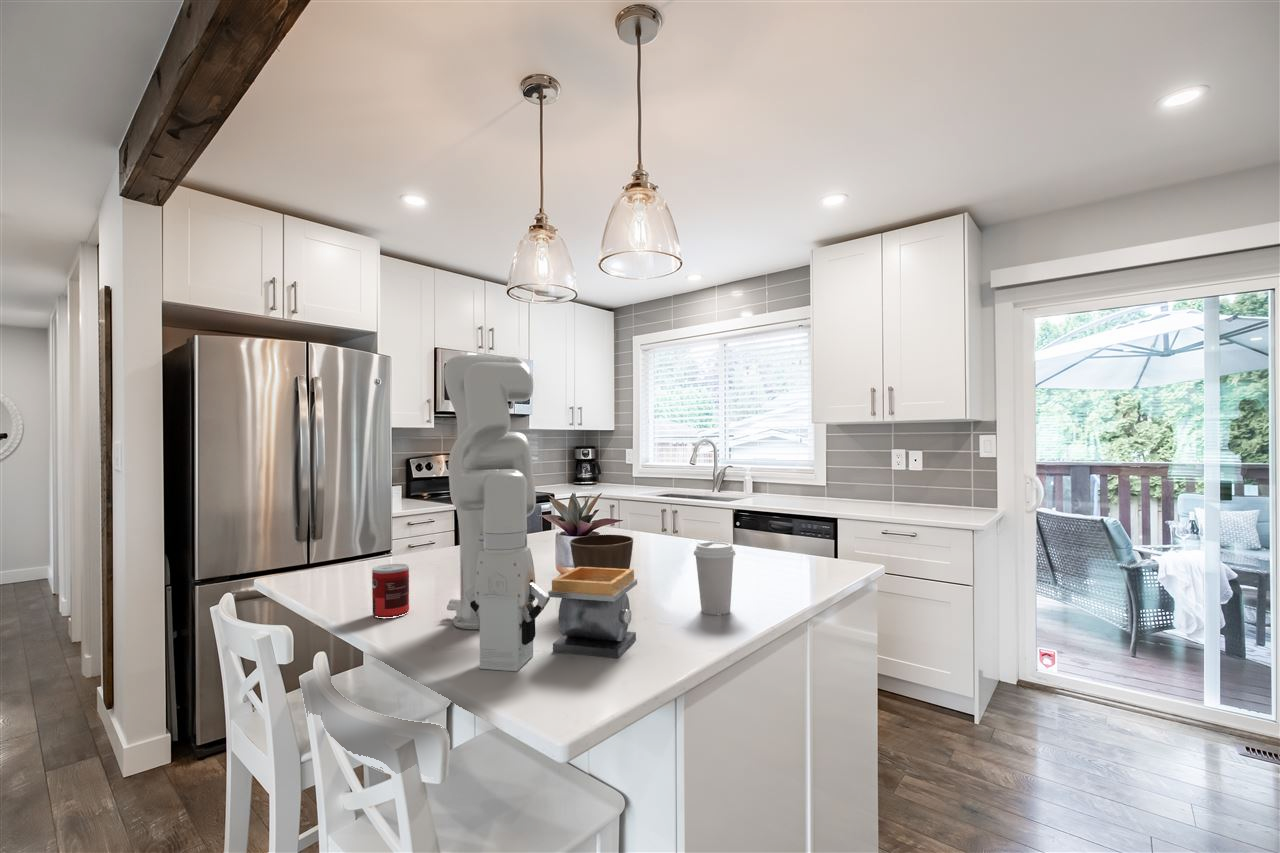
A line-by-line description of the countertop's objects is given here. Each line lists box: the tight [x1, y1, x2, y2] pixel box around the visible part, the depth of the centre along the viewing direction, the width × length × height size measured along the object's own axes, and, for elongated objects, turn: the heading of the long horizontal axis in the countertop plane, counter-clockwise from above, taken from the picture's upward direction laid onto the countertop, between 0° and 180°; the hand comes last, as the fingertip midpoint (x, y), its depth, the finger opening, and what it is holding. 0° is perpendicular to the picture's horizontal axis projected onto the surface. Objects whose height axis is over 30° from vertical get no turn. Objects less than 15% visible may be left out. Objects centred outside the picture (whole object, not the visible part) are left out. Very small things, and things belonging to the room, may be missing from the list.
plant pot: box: [569, 534, 634, 569], centre depth 136 cm, size 15×15×16 cm
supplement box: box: [479, 595, 534, 672], centre depth 103 cm, size 7×7×13 cm
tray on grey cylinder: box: [547, 567, 638, 659], centre depth 111 cm, size 14×13×14 cm
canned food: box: [371, 563, 410, 617], centre depth 134 cm, size 8×8×11 cm
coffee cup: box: [693, 541, 736, 616], centre depth 132 cm, size 10×10×15 cm
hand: (507, 639), depth 103 cm, fingers closed on supplement box, 7 cm apart
